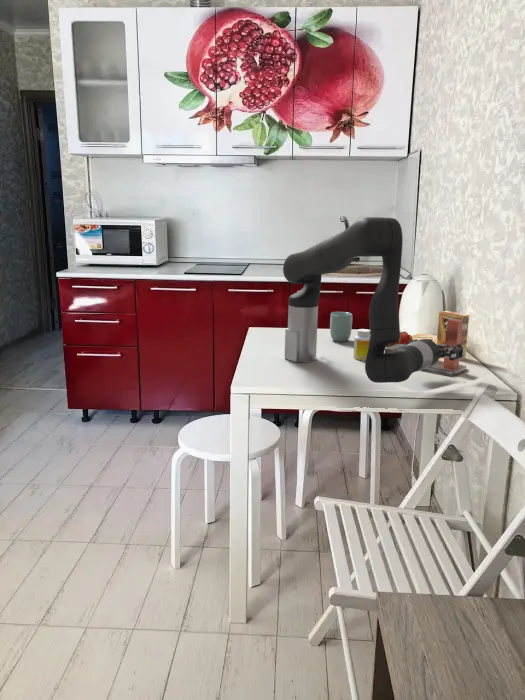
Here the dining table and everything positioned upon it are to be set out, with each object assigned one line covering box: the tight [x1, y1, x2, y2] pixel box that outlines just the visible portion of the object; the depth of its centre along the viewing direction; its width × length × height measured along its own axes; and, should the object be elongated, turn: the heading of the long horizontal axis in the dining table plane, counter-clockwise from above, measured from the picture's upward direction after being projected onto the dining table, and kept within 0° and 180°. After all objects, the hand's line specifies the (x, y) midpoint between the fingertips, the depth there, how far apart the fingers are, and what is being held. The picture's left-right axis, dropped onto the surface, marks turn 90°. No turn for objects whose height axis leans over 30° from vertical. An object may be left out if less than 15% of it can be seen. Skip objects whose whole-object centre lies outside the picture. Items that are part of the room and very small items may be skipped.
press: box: [384, 344, 469, 378], centre depth 174 cm, size 23×11×6 cm, turn 49°
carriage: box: [428, 318, 467, 375], centre depth 169 cm, size 10×8×15 cm
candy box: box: [436, 310, 470, 361], centre depth 185 cm, size 9×4×15 cm, turn 33°
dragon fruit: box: [386, 331, 414, 348], centre depth 193 cm, size 8×8×12 cm
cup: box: [329, 311, 353, 343], centre depth 210 cm, size 8×8×10 cm
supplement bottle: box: [353, 328, 370, 362], centre depth 182 cm, size 6×6×10 cm
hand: (445, 345), depth 164 cm, fingers open, 8 cm apart
